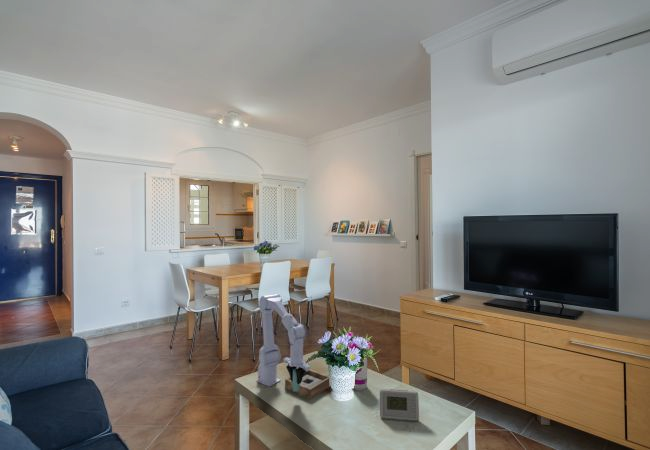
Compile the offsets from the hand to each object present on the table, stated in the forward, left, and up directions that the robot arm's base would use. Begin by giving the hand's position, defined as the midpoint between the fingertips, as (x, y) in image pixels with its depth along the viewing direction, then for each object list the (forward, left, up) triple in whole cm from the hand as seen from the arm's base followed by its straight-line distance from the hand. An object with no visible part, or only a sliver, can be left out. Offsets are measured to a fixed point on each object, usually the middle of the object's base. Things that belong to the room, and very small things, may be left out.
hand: (296, 382), depth 153 cm
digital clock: (+42, +18, -9) cm, 47 cm away
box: (-4, +13, -9) cm, 16 cm away
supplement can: (+15, +29, -9) cm, 34 cm away
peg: (0, 0, -4) cm, 3 cm away
